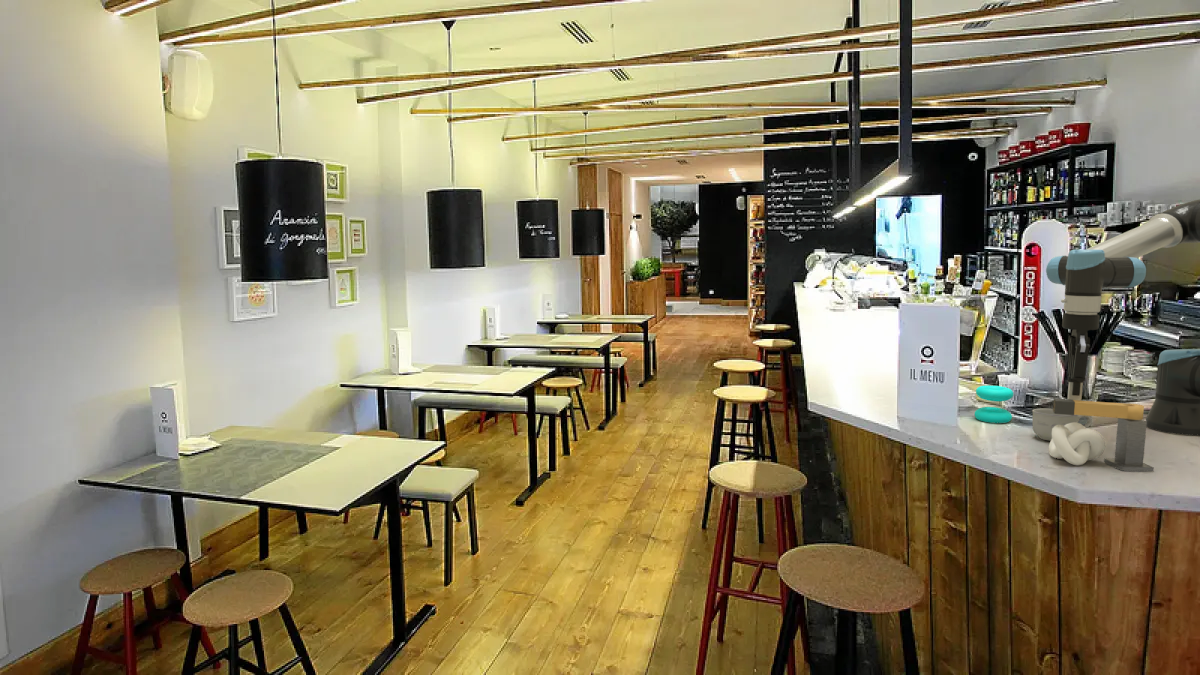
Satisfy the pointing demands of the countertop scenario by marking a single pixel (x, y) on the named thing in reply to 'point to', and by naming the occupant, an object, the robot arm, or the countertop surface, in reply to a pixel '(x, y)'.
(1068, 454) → the white knot
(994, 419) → the donuts
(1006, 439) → the countertop surface
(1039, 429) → the teacup
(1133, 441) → the post
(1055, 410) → the bar
